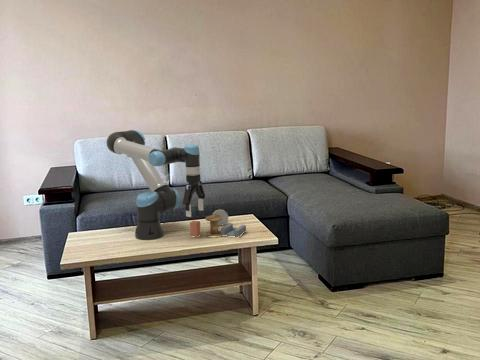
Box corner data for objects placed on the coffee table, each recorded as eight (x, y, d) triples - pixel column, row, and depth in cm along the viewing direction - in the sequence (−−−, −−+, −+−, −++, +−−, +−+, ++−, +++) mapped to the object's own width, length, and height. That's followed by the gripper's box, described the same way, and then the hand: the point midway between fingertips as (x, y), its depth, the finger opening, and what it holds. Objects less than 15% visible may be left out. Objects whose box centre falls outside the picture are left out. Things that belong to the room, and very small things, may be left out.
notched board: (220, 236, 269) (220, 228, 268) (229, 230, 279) (229, 223, 278) (237, 238, 265) (237, 230, 264) (246, 232, 275) (245, 225, 274)
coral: (211, 216, 283) (210, 205, 291) (213, 230, 289) (213, 219, 297) (227, 214, 283) (227, 203, 291) (229, 228, 289) (229, 217, 297)
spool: (203, 236, 269) (202, 218, 267) (210, 231, 277) (210, 214, 275) (218, 238, 265) (217, 220, 263) (225, 233, 273) (225, 215, 271)
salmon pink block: (190, 236, 269) (189, 222, 267) (194, 234, 273) (193, 220, 271) (197, 237, 267) (196, 223, 266) (200, 235, 271) (199, 221, 269)
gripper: (187, 178, 251) (189, 219, 255) (210, 170, 273) (211, 208, 277) (174, 178, 254) (176, 218, 258) (198, 170, 276) (199, 207, 280)
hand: (195, 213), depth 267 cm, fingers open, 13 cm apart
